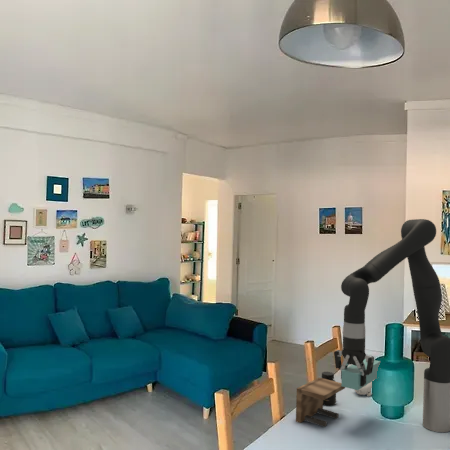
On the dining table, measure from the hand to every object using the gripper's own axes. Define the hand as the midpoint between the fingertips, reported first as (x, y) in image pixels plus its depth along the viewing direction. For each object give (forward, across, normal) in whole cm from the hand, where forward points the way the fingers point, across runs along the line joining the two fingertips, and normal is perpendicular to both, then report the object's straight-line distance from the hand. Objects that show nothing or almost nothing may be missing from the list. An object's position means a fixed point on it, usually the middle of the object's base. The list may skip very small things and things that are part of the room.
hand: (353, 383), depth 164 cm
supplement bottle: (+17, +19, -19) cm, 32 cm away
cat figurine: (+17, +13, -42) cm, 47 cm away
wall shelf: (+17, +14, -3) cm, 22 cm away
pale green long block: (+1, 0, -7) cm, 7 cm away
